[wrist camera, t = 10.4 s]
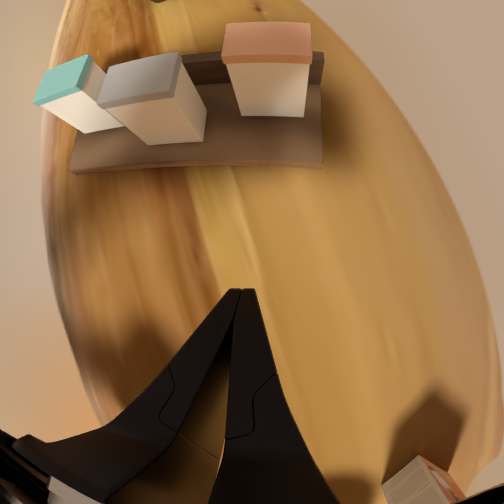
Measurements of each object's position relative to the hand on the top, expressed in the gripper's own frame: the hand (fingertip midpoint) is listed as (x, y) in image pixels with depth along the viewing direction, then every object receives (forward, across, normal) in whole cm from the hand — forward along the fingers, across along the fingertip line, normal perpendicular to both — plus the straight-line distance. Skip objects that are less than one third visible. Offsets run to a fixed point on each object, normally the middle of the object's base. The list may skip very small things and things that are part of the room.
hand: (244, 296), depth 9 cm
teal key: (+18, +16, -4) cm, 24 cm away
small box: (-5, -16, +28) cm, 33 cm away
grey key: (+17, +8, -2) cm, 18 cm away
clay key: (+18, 0, -3) cm, 18 cm away
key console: (+19, +8, -2) cm, 20 cm away
